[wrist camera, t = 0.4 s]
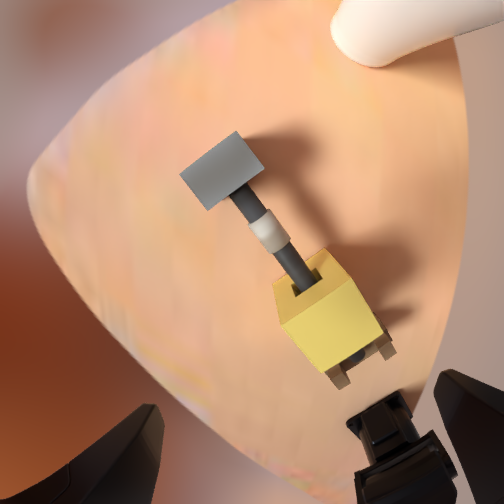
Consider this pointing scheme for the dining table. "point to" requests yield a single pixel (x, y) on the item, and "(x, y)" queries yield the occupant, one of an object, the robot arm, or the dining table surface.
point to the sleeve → (325, 313)
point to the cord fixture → (264, 227)
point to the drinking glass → (405, 25)
